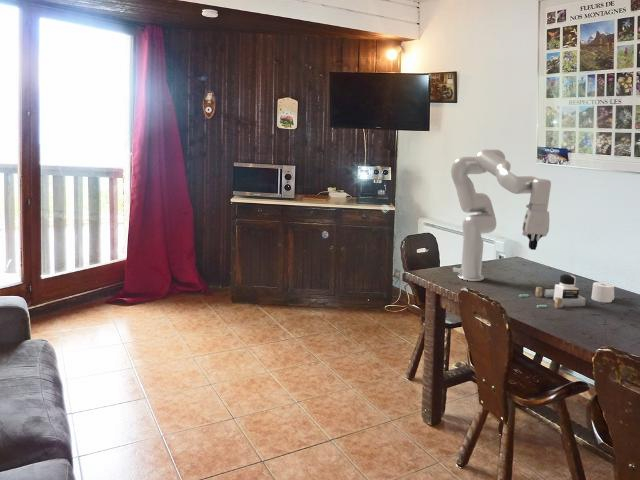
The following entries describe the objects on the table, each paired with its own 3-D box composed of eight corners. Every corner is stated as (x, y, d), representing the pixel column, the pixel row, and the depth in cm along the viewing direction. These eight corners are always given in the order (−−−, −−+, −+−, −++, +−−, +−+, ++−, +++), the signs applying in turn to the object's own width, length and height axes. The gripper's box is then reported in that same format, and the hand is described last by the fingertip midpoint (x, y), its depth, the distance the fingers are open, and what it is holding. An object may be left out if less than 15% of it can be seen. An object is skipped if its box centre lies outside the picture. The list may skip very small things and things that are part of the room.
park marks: (537, 307, 231) (537, 305, 231) (519, 296, 247) (519, 294, 246) (546, 307, 232) (546, 305, 232) (527, 296, 247) (528, 294, 247)
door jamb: (556, 308, 231) (557, 298, 231) (535, 295, 249) (536, 286, 248) (561, 307, 232) (562, 298, 231) (539, 295, 249) (540, 286, 248)
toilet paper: (614, 297, 249) (616, 283, 247) (610, 303, 240) (612, 288, 238) (594, 294, 253) (596, 279, 252) (589, 300, 244) (591, 284, 243)
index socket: (561, 306, 234) (562, 298, 233) (544, 296, 247) (544, 289, 247) (584, 306, 235) (585, 298, 234) (566, 296, 249) (566, 289, 248)
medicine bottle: (561, 304, 236) (564, 277, 234) (553, 299, 243) (556, 273, 240) (577, 304, 237) (580, 277, 234) (568, 299, 244) (571, 273, 241)
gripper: (525, 208, 234) (519, 250, 239) (559, 209, 236) (552, 251, 240) (517, 205, 242) (512, 246, 246) (550, 206, 243) (544, 247, 248)
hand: (532, 248), depth 243 cm, fingers closed
